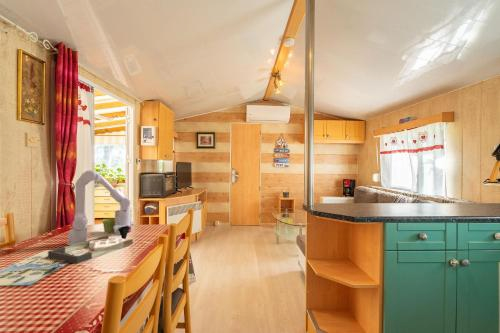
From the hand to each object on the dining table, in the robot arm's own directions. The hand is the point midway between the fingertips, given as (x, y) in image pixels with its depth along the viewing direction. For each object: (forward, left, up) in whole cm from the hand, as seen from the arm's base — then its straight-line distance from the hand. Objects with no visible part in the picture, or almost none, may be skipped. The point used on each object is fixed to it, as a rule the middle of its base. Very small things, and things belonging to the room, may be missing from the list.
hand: (123, 238), depth 164 cm
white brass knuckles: (0, -12, -2) cm, 12 cm away
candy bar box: (-15, +14, -2) cm, 20 cm away
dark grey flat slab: (0, -33, -1) cm, 34 cm away
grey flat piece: (0, -16, -1) cm, 16 cm away
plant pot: (-25, +12, -2) cm, 28 cm away
